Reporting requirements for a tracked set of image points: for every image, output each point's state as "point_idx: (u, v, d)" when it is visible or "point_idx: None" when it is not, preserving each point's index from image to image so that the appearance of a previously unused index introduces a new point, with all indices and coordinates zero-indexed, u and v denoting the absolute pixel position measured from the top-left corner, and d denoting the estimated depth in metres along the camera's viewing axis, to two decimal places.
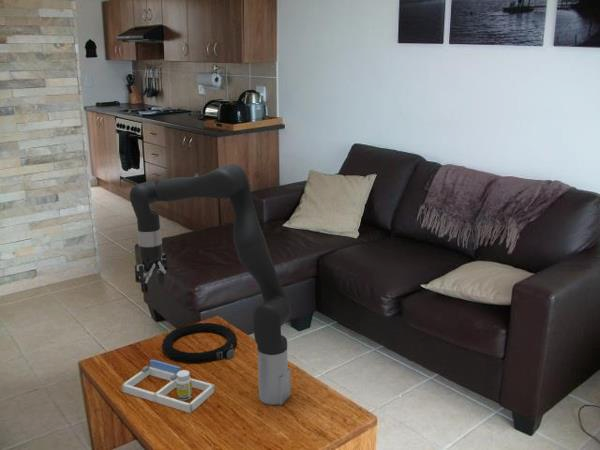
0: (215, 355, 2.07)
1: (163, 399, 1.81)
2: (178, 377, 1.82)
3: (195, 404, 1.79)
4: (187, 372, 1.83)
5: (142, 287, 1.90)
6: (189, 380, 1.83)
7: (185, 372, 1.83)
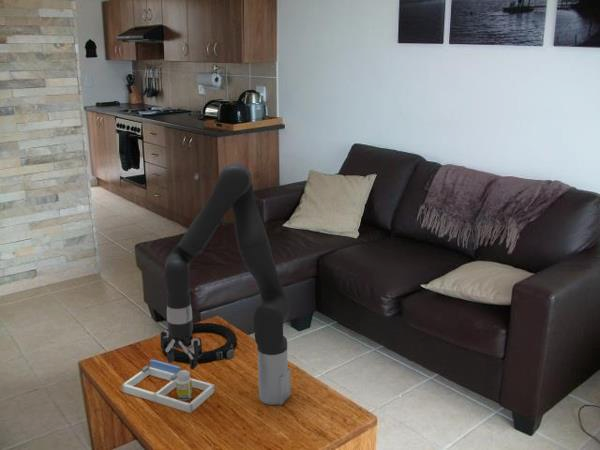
0: (215, 355, 2.07)
1: (163, 399, 1.81)
2: (178, 377, 1.82)
3: (195, 404, 1.79)
4: (187, 372, 1.83)
5: (195, 362, 1.80)
6: (189, 380, 1.83)
7: (185, 372, 1.83)
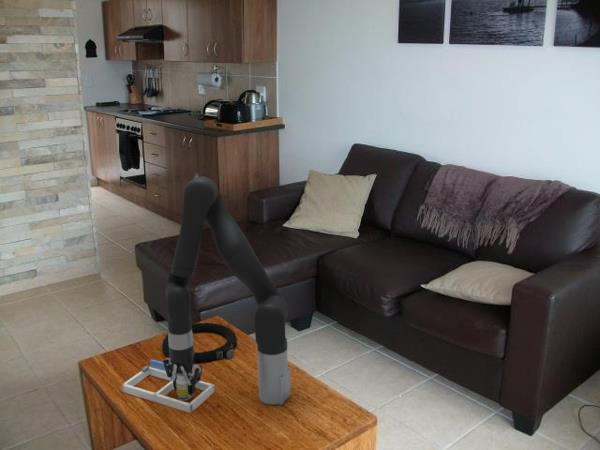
0: (215, 355, 2.07)
1: (163, 399, 1.81)
2: (178, 377, 1.82)
3: (195, 404, 1.79)
4: None
5: (193, 388, 1.83)
6: None
7: None
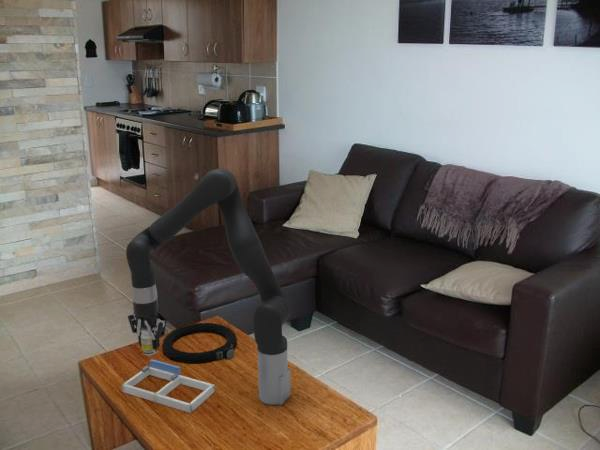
0: (215, 355, 2.07)
1: (163, 399, 1.81)
2: (142, 332, 1.84)
3: (195, 404, 1.79)
4: None
5: (157, 343, 1.84)
6: None
7: None
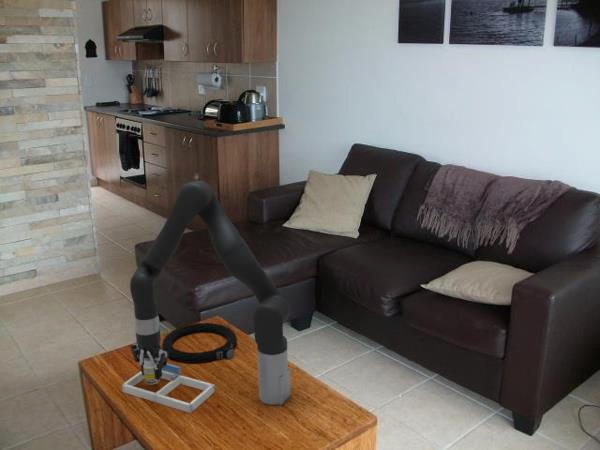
0: (215, 355, 2.07)
1: (163, 399, 1.81)
2: (145, 362, 1.87)
3: (195, 404, 1.79)
4: None
5: (160, 372, 1.88)
6: None
7: None
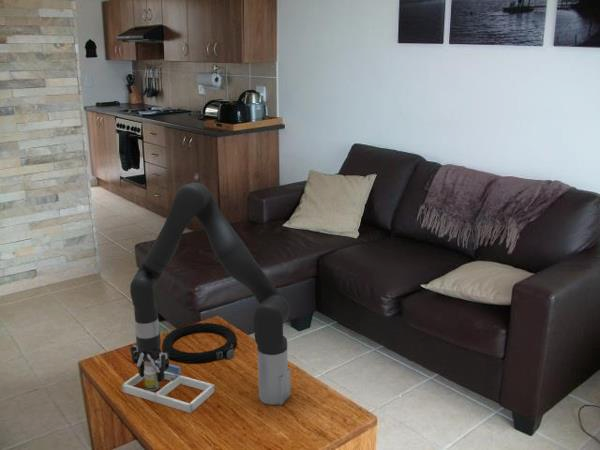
0: (215, 355, 2.07)
1: (163, 399, 1.81)
2: (145, 368, 1.87)
3: (195, 404, 1.79)
4: None
5: (162, 375, 1.87)
6: (156, 371, 1.88)
7: None
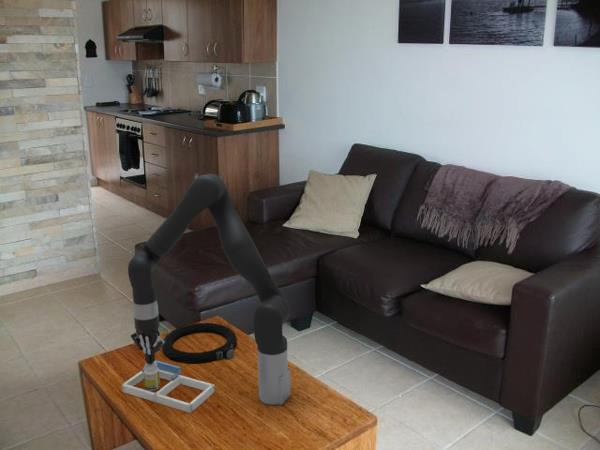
0: (215, 355, 2.07)
1: (163, 399, 1.81)
2: (145, 368, 1.87)
3: (195, 404, 1.79)
4: (155, 363, 1.89)
5: (153, 357, 1.87)
6: (156, 371, 1.88)
7: (153, 363, 1.89)
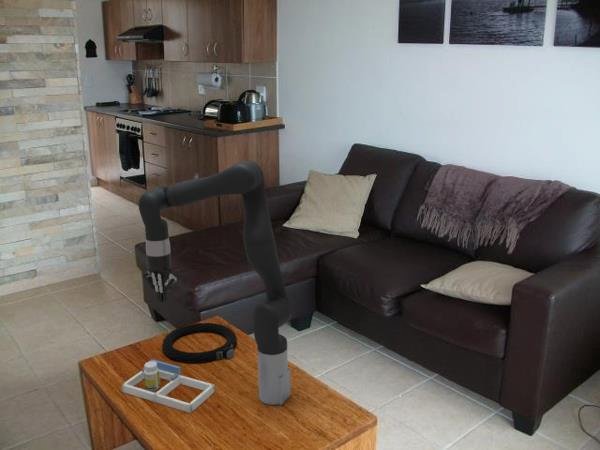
0: (215, 355, 2.07)
1: (163, 399, 1.81)
2: (145, 368, 1.87)
3: (195, 404, 1.79)
4: (155, 363, 1.89)
5: (165, 296, 1.89)
6: (156, 371, 1.88)
7: (153, 363, 1.89)
